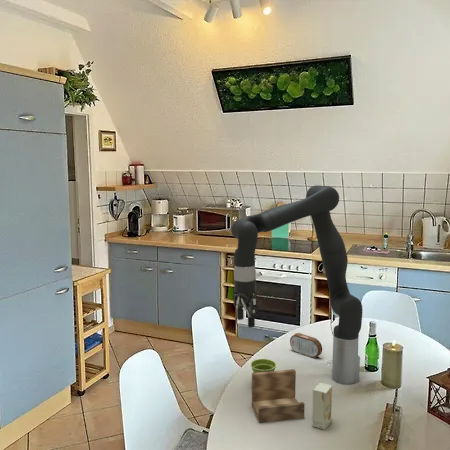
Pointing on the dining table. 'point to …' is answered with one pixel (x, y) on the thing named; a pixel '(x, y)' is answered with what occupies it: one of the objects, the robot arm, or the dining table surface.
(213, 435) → the dining table surface
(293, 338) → the tin
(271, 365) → the plant pot
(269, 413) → the wooden holder
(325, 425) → the skincare box
